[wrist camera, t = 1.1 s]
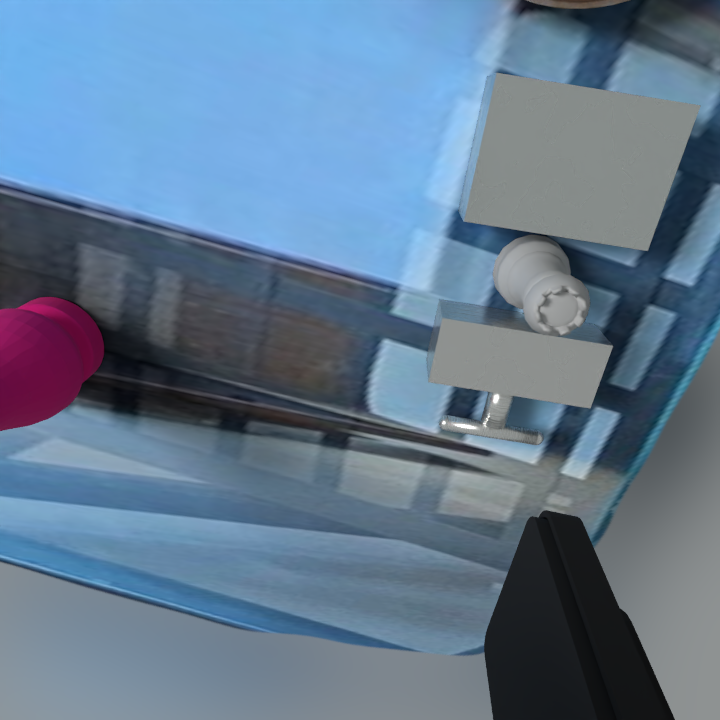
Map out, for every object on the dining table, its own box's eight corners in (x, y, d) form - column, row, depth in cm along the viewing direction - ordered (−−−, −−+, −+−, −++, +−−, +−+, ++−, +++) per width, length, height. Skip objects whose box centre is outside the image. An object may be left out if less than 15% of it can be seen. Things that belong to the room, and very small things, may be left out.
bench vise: (486, 76, 30) (496, 72, 27) (669, 105, 30) (700, 105, 27) (415, 411, 39) (415, 438, 36) (556, 434, 39) (570, 463, 36)
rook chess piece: (476, 273, 35) (495, 317, 28) (528, 217, 33) (563, 247, 26) (528, 317, 36) (559, 371, 29) (581, 264, 34) (629, 306, 27)
